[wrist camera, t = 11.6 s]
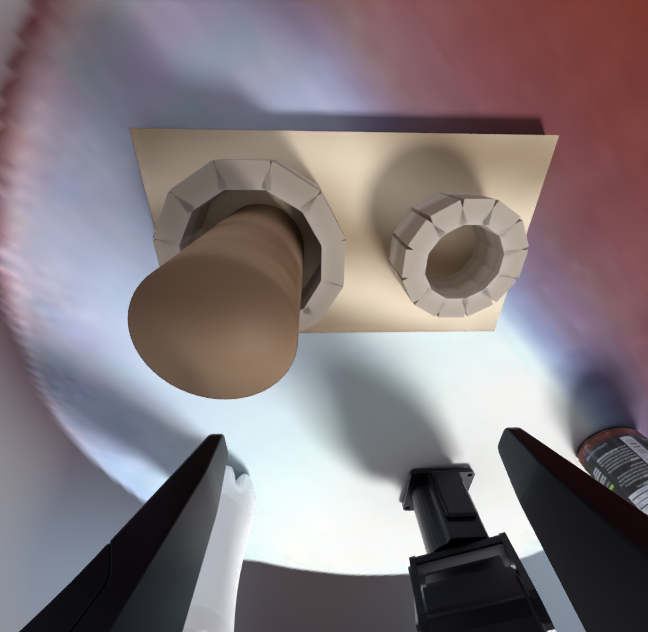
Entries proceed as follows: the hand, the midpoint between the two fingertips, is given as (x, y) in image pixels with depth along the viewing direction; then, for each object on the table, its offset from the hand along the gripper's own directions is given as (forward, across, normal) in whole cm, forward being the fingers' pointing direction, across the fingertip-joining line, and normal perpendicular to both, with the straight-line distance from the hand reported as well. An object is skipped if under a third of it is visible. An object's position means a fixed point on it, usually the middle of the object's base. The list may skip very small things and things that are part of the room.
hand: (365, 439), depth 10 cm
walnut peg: (+11, +5, -3) cm, 13 cm away
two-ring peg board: (+12, 0, -3) cm, 13 cm away
